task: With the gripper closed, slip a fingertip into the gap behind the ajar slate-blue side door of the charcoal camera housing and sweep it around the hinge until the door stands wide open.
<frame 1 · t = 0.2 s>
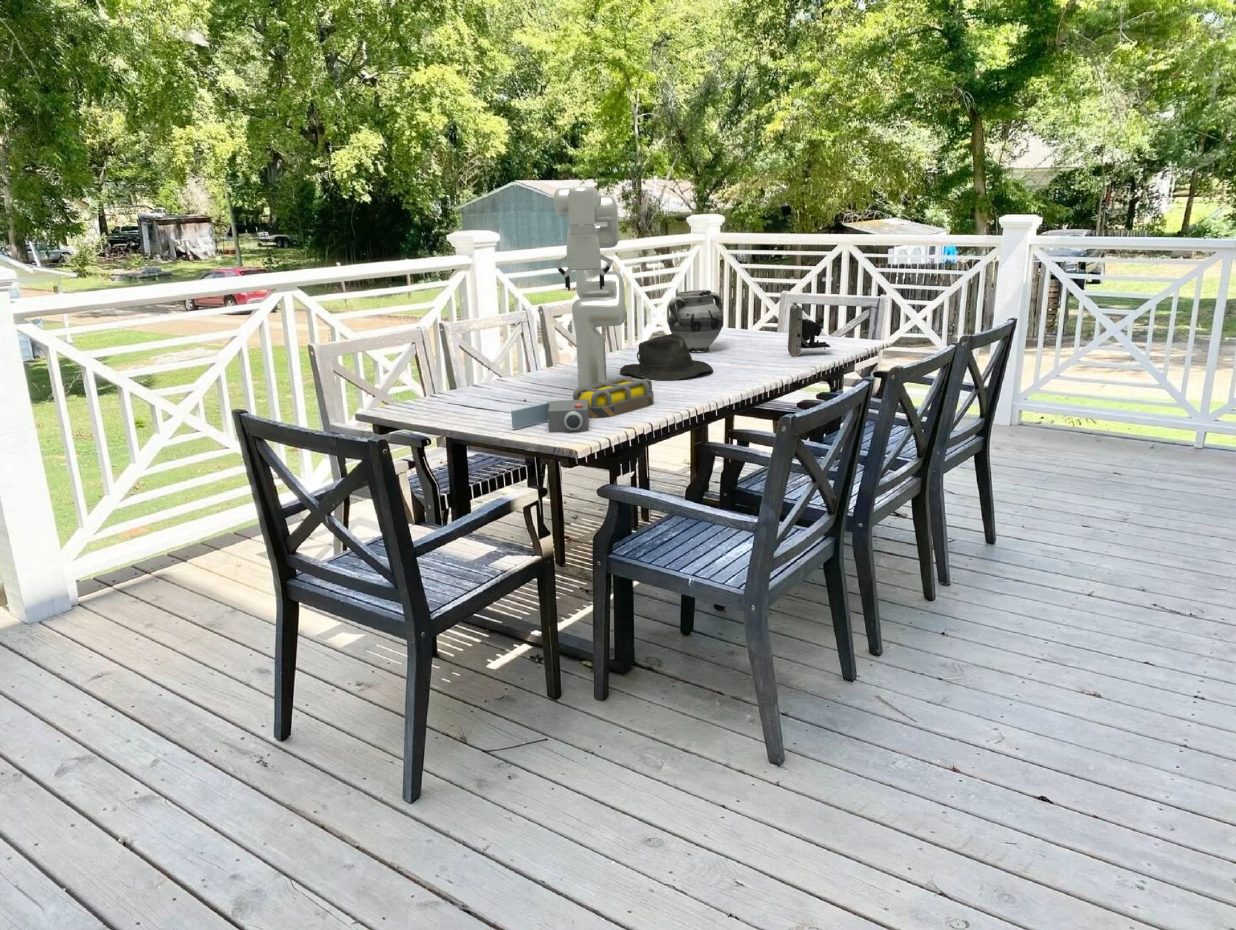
hand: (585, 289, 278), 37 cm above the table, fingers open, 9 cm apart
cage light: (614, 409, 288), on the table
hat: (667, 373, 343), on the table
side door: (531, 415, 269), point 3 cm above the table, hinge at 45.0°
ceramic pot: (696, 351, 388), on the table
camera housing: (569, 425, 267), on the table
vintage camera: (808, 355, 368), on the table
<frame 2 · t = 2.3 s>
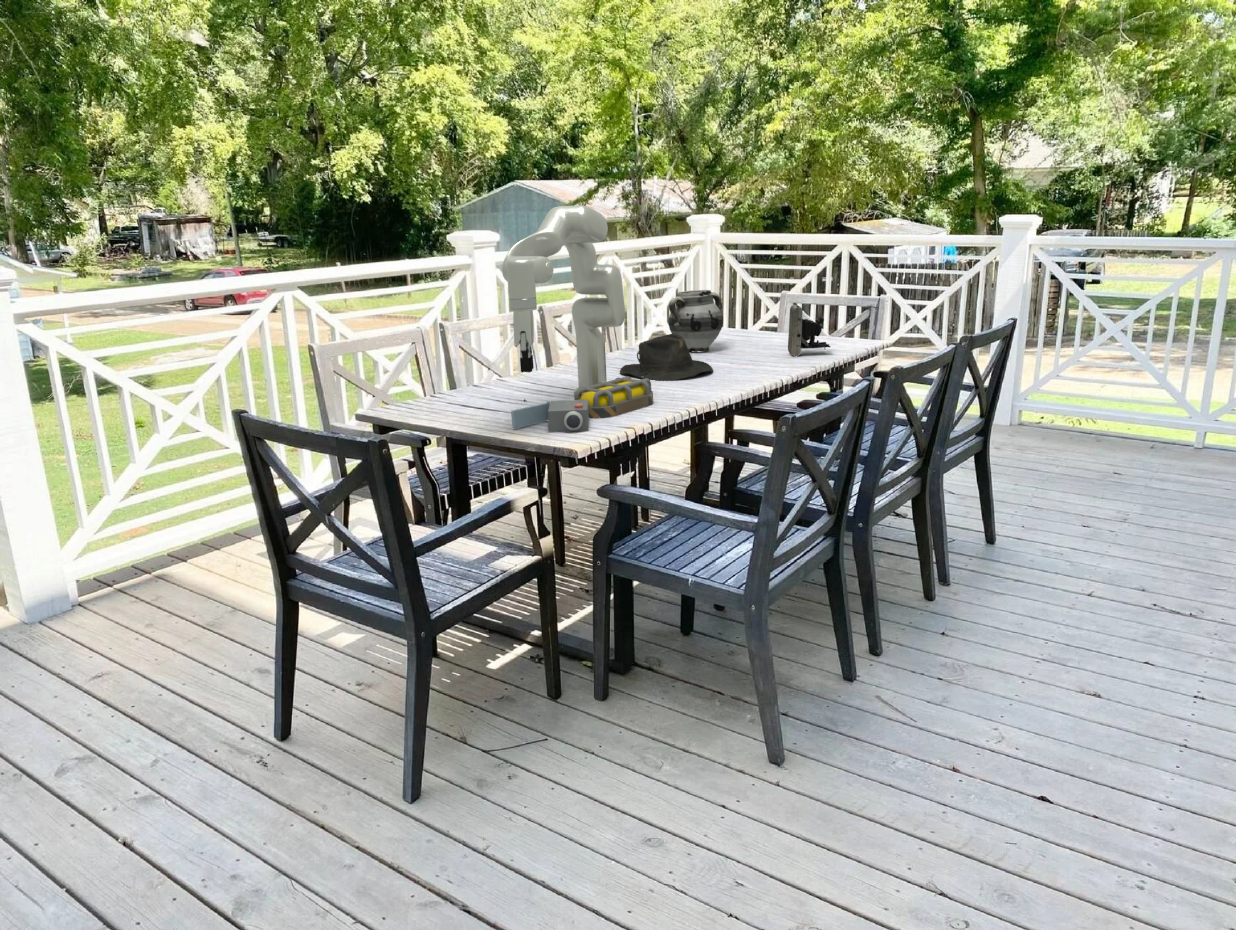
hand: (527, 369, 260), 17 cm above the table, fingers open, 3 cm apart
nothing on the table moved.
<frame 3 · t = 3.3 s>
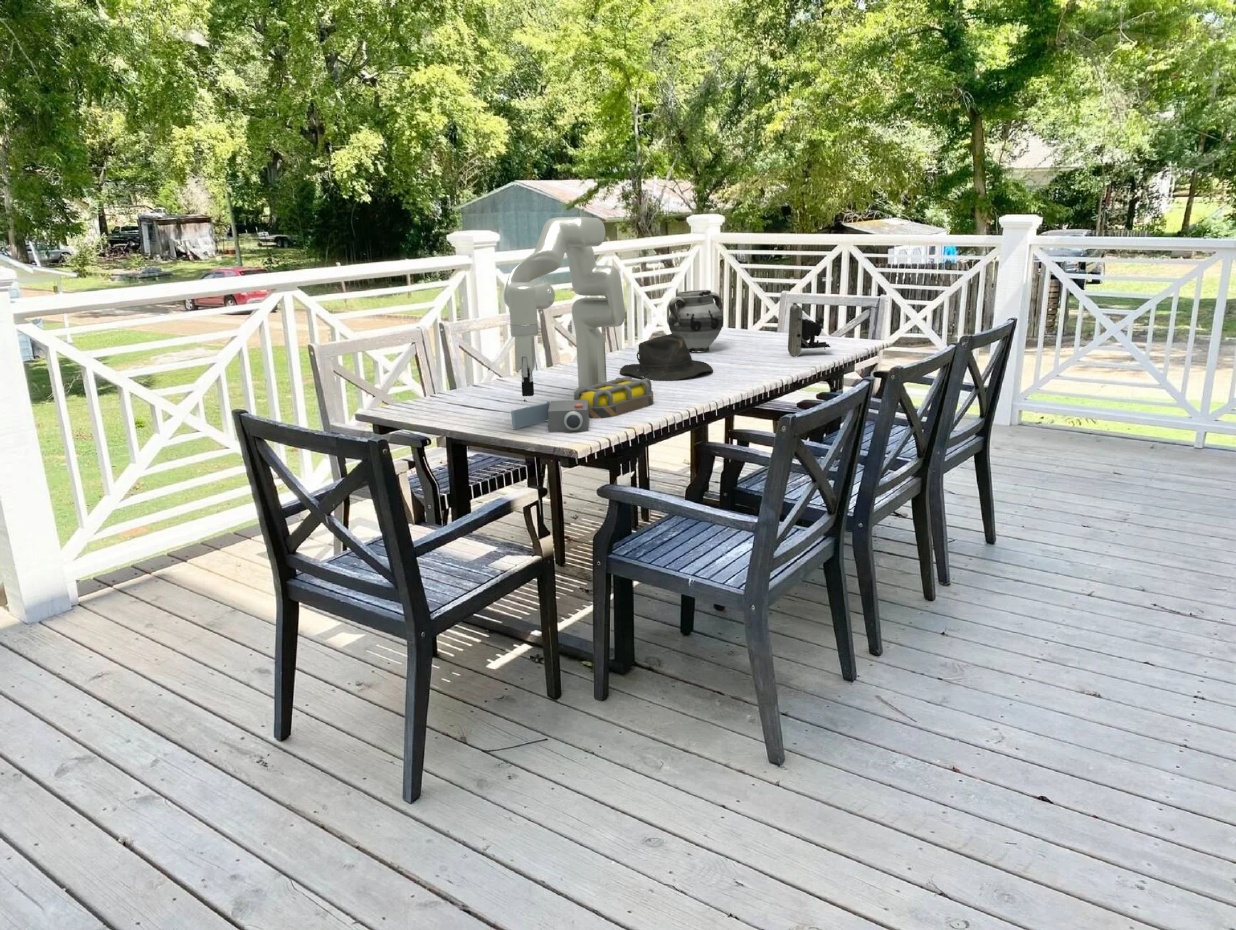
hand: (528, 395, 261), 10 cm above the table, fingers closed
nothing on the table moved.
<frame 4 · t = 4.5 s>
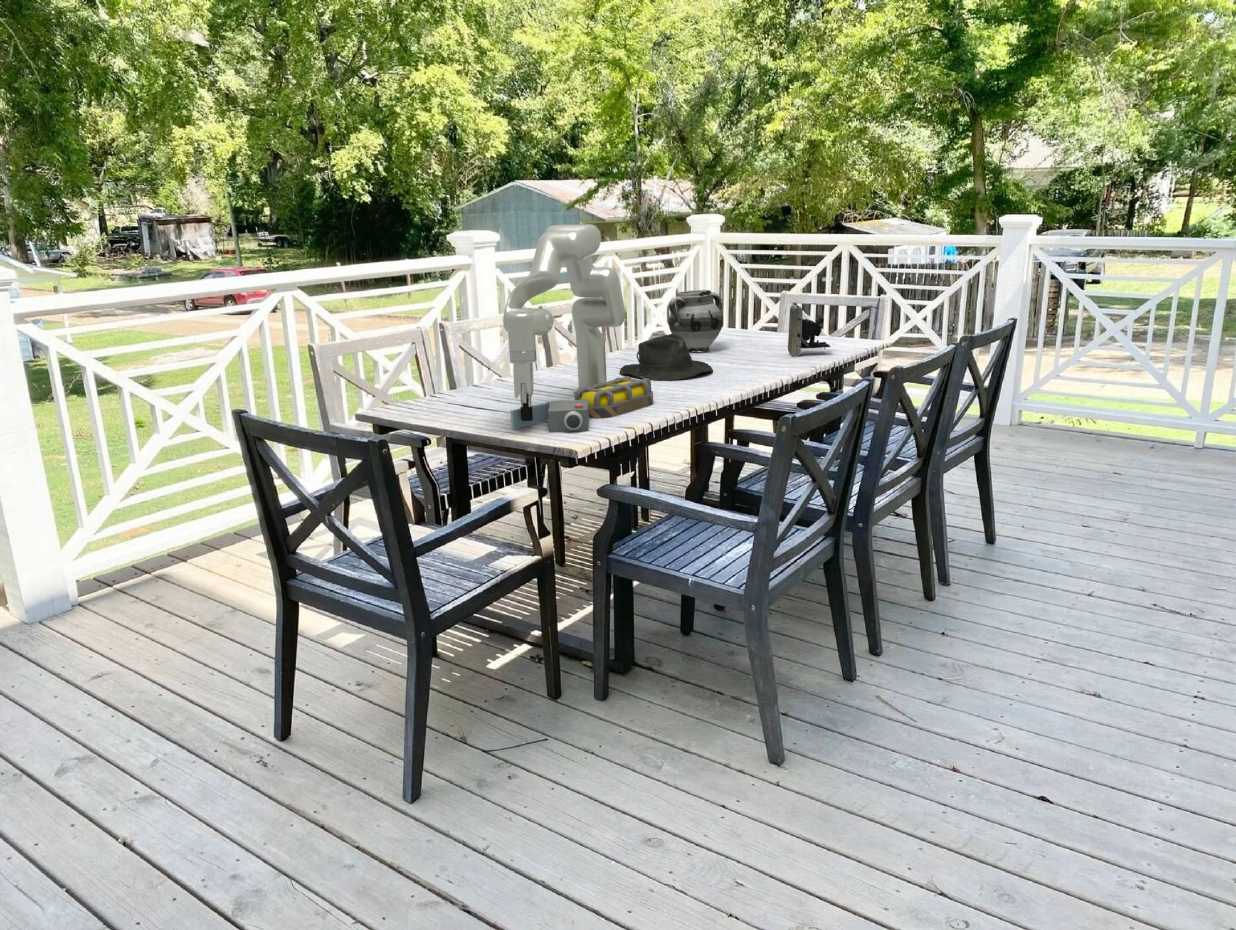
hand: (527, 420, 265), 3 cm above the table, fingers closed
side door: (531, 415, 269), point 3 cm above the table, hinge at 46.8°, touching gripper
everything else where it was.
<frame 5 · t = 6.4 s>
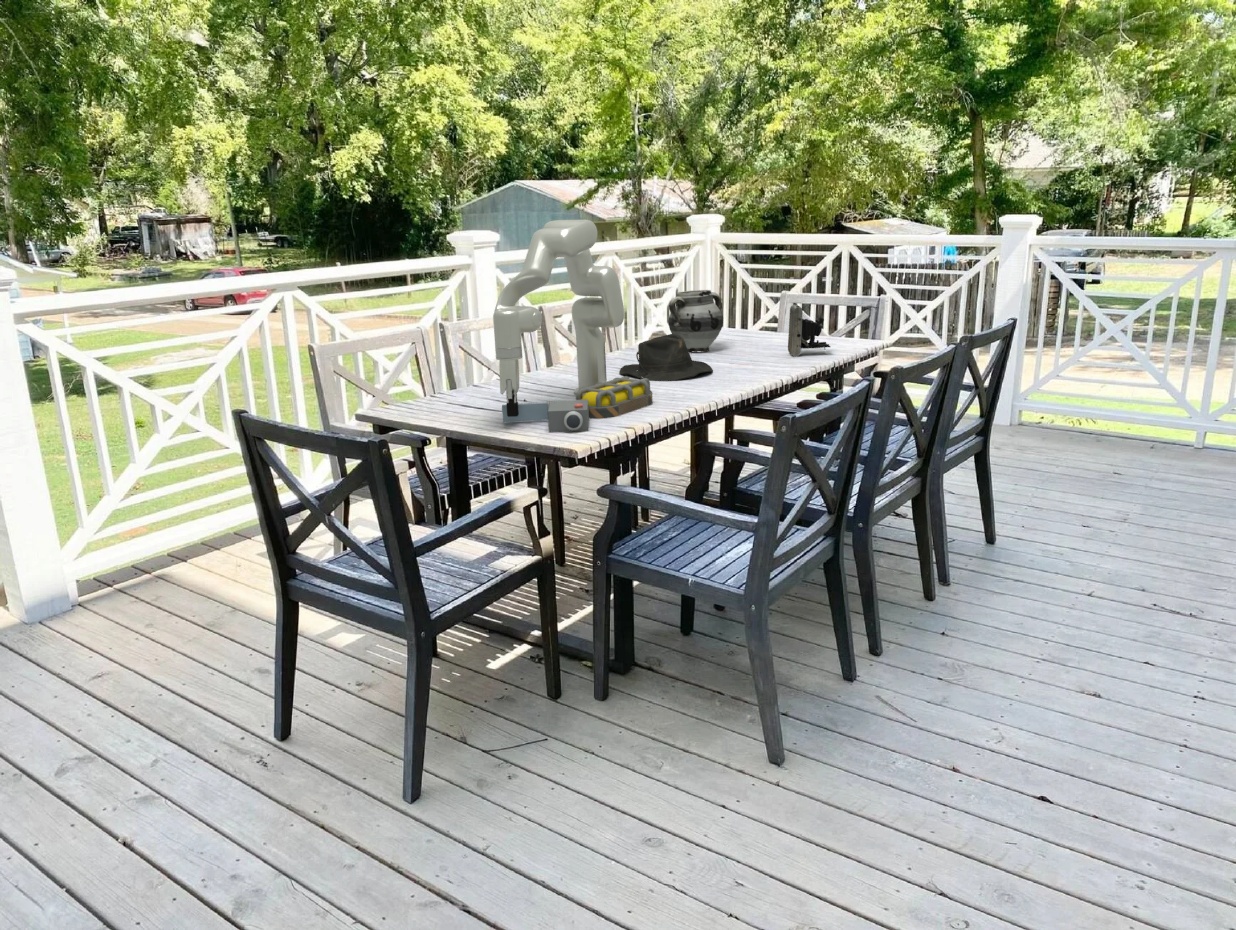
hand: (513, 415, 270), 3 cm above the table, fingers closed
side door: (526, 412, 273), point 3 cm above the table, hinge at 84.7°, touching gripper
everything else where it was.
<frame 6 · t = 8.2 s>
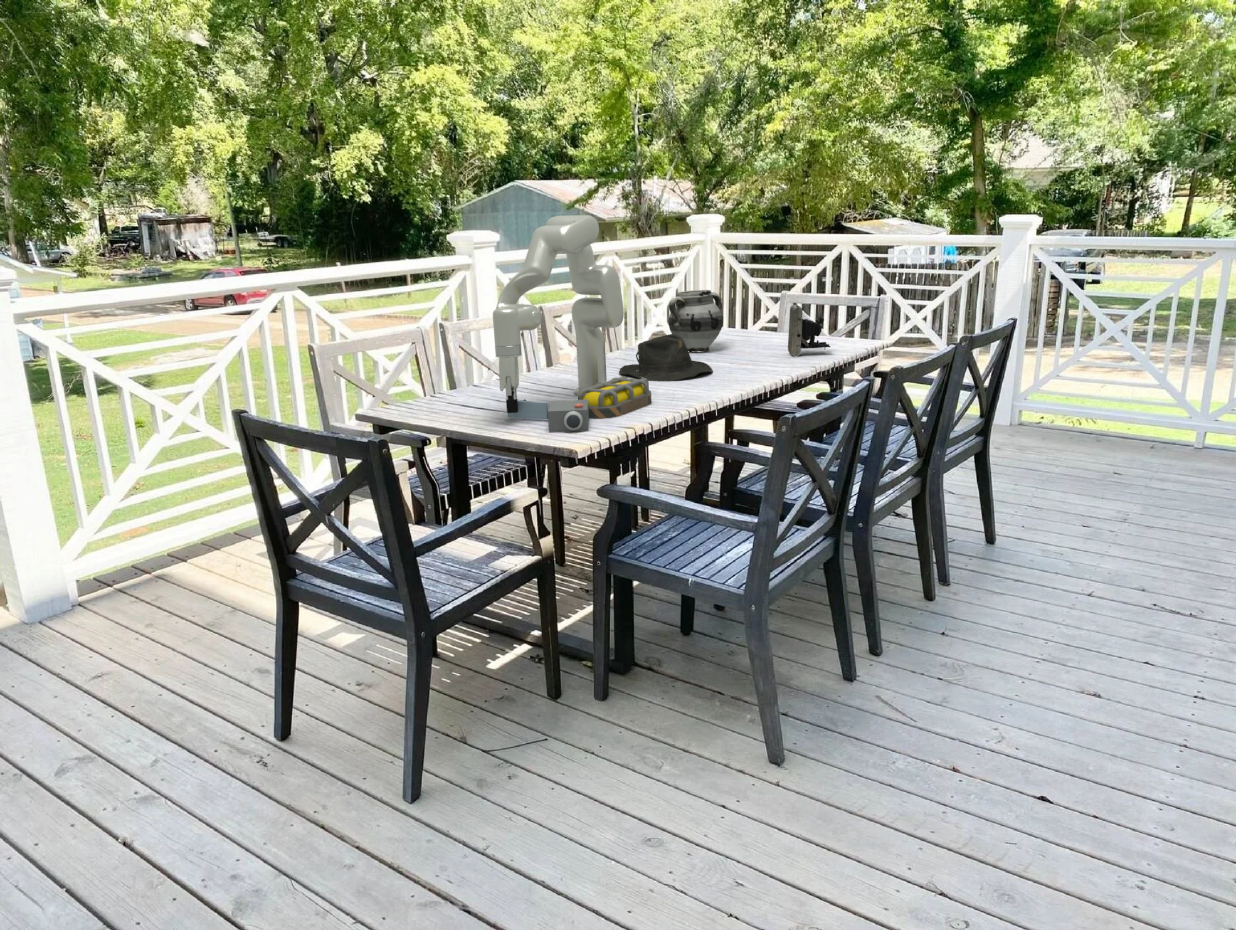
hand: (512, 412, 275), 3 cm above the table, fingers closed
side door: (529, 409, 276), point 3 cm above the table, hinge at 112.4°
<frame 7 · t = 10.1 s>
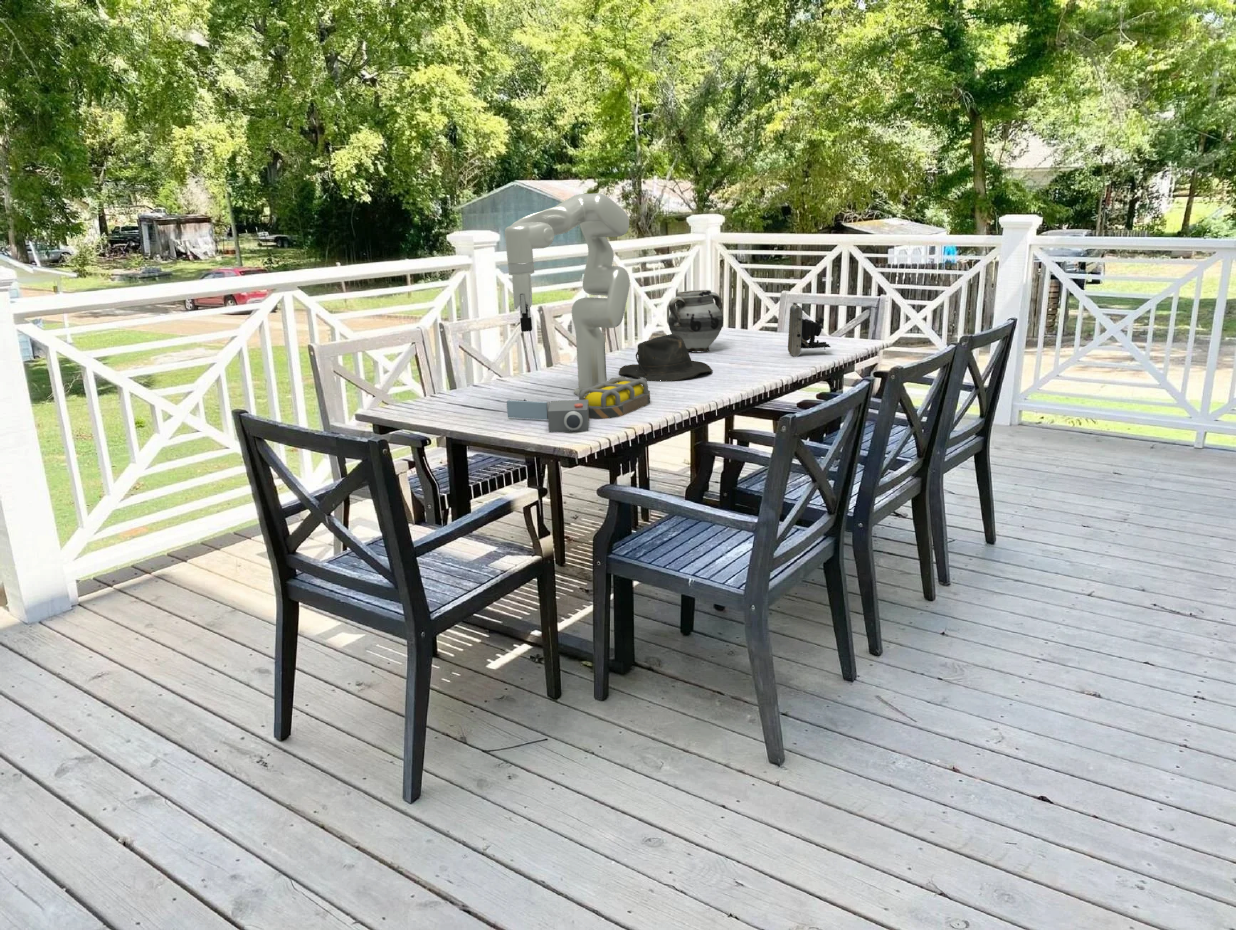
hand: (526, 330, 277), 25 cm above the table, fingers closed
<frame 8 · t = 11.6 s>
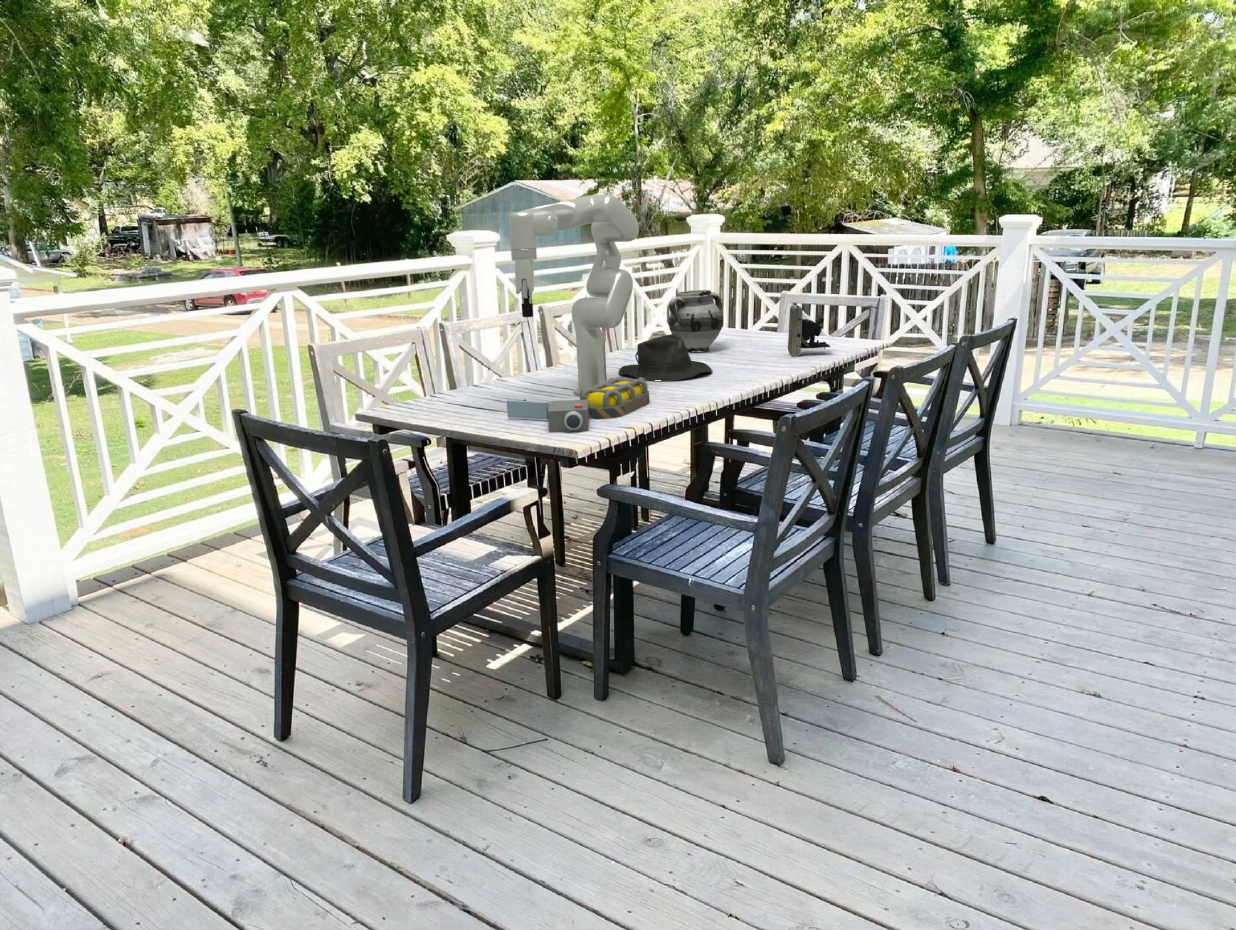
hand: (528, 316, 281), 29 cm above the table, fingers closed
at the end: side door at +112° (first picture: +45°) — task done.
